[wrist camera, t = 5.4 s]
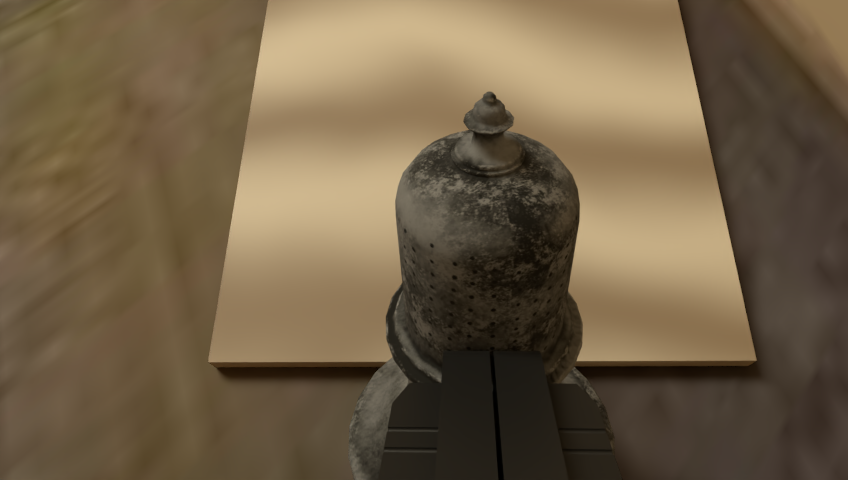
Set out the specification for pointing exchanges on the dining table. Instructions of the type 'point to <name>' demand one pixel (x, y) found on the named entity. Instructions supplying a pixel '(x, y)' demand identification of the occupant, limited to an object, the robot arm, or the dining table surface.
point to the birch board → (444, 114)
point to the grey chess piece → (477, 267)
